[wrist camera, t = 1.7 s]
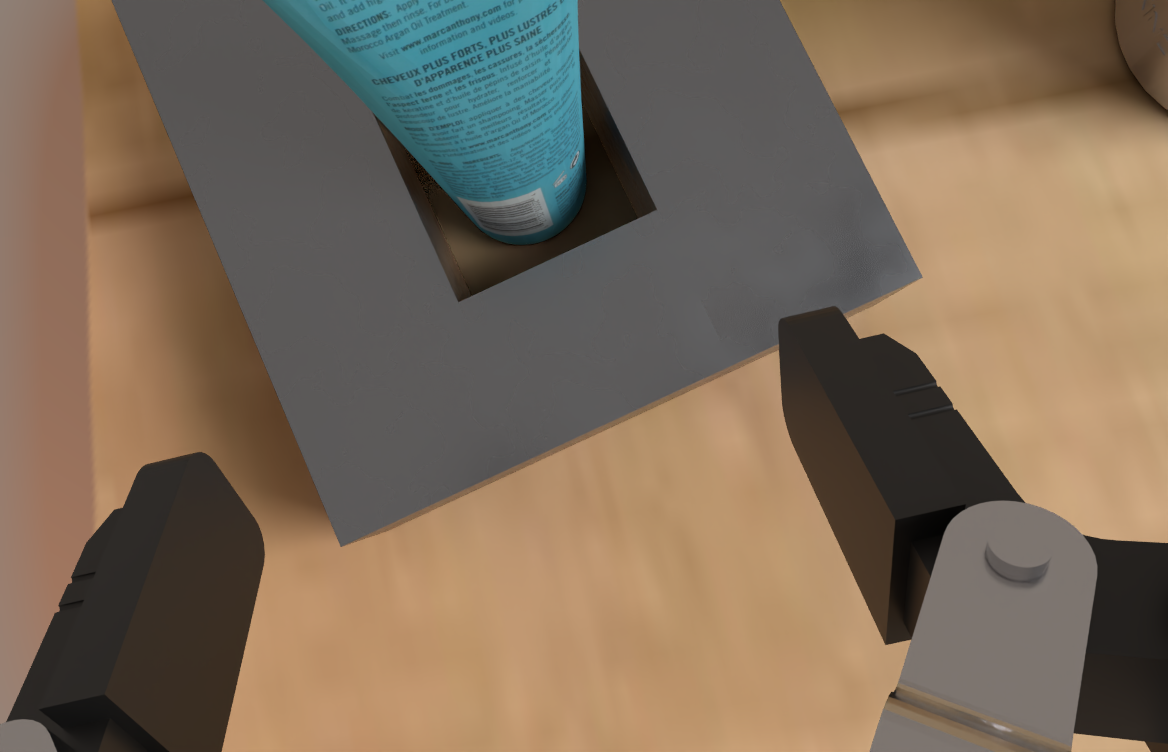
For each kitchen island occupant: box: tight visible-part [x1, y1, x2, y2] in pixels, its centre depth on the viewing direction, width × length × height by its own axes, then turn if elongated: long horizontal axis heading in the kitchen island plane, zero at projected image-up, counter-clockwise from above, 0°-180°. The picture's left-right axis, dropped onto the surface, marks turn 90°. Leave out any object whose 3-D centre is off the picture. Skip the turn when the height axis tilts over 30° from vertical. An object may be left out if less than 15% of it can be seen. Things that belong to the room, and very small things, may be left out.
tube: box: [263, 0, 587, 245], centre depth 22 cm, size 7×5×19 cm, turn 120°
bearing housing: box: [112, 0, 922, 547], centre depth 29 cm, size 20×20×5 cm
